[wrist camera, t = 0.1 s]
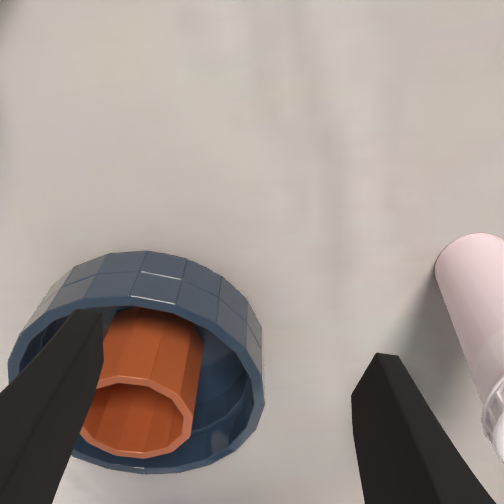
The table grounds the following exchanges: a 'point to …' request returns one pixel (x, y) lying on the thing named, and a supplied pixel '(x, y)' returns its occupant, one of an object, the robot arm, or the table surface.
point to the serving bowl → (181, 304)
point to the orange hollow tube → (145, 384)
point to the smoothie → (479, 319)
